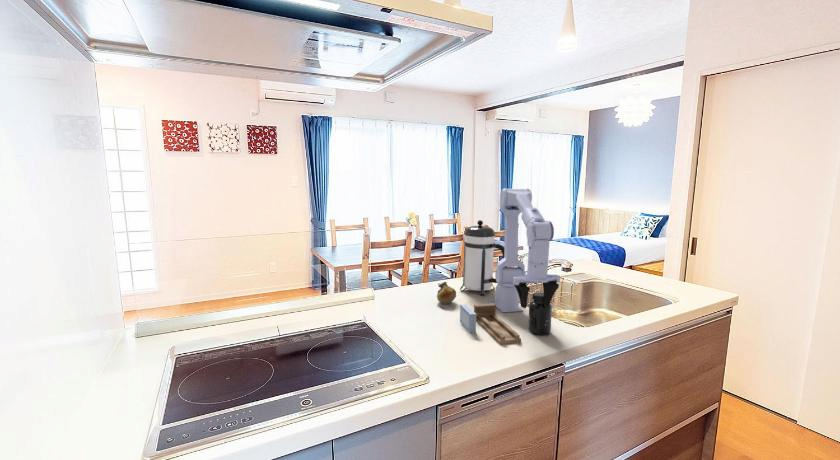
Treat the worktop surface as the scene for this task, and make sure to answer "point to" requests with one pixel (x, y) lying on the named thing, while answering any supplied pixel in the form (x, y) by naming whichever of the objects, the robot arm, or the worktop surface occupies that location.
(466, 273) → the coffee press
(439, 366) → the worktop surface
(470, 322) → the light blue flat block
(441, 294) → the onion
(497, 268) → the robot arm
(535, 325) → the supplement bottle
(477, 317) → the door track
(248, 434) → the worktop surface
